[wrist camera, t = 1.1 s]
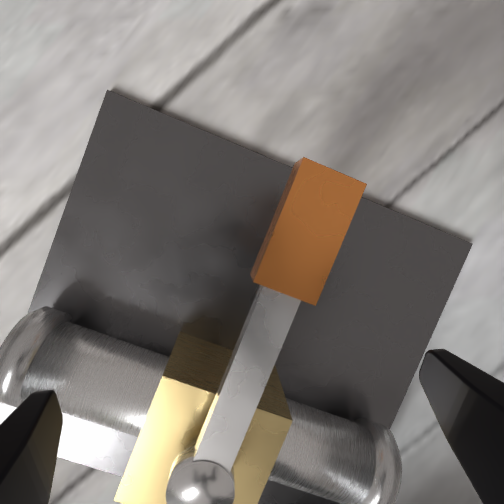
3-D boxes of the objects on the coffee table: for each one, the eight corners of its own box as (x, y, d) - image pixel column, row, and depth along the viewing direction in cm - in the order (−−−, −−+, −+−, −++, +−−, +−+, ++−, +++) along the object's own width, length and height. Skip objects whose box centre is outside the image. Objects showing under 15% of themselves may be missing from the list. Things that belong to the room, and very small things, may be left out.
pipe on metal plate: (468, 243, 24) (572, 256, 17) (336, 539, 25) (379, 666, 18) (109, 91, 21) (50, 31, 14) (-12, 430, 23) (-119, 528, 16)
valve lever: (220, 505, 17) (219, 540, 15) (162, 487, 16) (154, 521, 15) (352, 188, 16) (369, 185, 14) (292, 162, 15) (301, 156, 14)
